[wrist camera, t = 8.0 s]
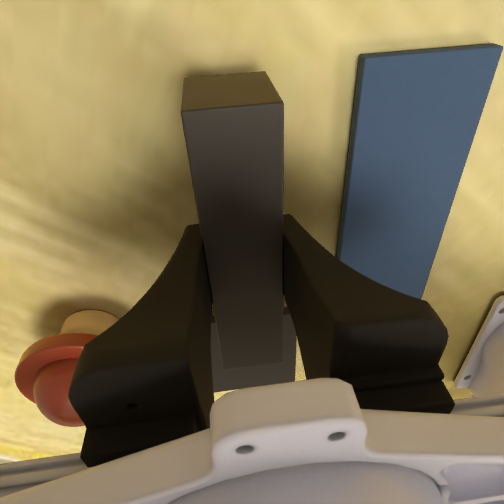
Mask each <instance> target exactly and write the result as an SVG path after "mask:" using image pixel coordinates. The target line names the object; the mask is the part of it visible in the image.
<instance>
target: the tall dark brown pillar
mask: <svg viewBox="0 0 504 504" xmlns="http://www.w3.org/2000/svg"><path fill="white" fill-rule="evenodd" d="M181 117H182V123H183V129H184V135H185V141H186V147H187V153H188V159H189V165H190V171H191V177H192V183H193V189H194V195H195V201H196V207H197V213H198V219H199V225H200V231H201V237H202V243H203V249H204V255H205V261H206V267H207V273H208V279H209V285H210V291H211V297H212V303H213V309H214V315H215V316H212V318H211V361H212V377H213V392H221V391H228V390H236V389H242V388H250V387H257V386H265V385H272V384H280V383H287V382H294V381H295V365H296V337H297V334H296V331H295V327H294V324H293V321H292V318H291V315H290V312H289V309H288V307H284V308H283V197H284V103H283V101H282V99H281V98H280V96H279V94H278V92H277V91H276V89H275V87H274V86H273V84H272V82H271V81H270V79H269V77H268V75H267V74H266V72H264V71H263V72H251V73H239V74H227V75H215V76H204V77H192V78H184V83H183V93H182V104H181Z"/></svg>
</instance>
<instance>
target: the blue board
mask: <svg viewBox="0 0 504 504" xmlns="http://www.w3.org/2000/svg"><path fill="white" fill-rule="evenodd" d="M502 50H503V46H500V45H497V44H481V45H469V46H457V47H445V48H433V49H421V50H409V51H397V52H385V53H373V54H361V55H360V56H359V64H358V73H357V82H356V90H355V99H354V108H353V116H352V125H351V134H350V142H349V151H348V160H347V169H346V177H345V186H344V195H343V203H342V212H341V221H340V230H339V238H338V247H337V256H336V258H337V259H339V260H340V261H342V262H343V263H345V264H346V265H348V266H349V267H351V268H352V269H354V270H356V271H357V272H359V273H361V274H363V275H364V276H366V277H368V278H370V279H372V280H374V281H376V282H378V283H380V284H382V285H384V286H386V287H389V288H391V289H393V290H396V291H398V292H401V293H404V294H406V295H409V296H412V297H415V298H418V299H421V298H422V295H423V292H424V289H425V286H426V283H427V280H428V276H429V273H430V270H431V267H432V264H433V261H434V258H435V255H436V252H437V249H438V246H439V243H440V240H441V237H442V234H443V231H444V227H445V224H446V221H447V218H448V215H449V212H450V209H451V206H452V203H453V200H454V197H455V194H456V191H457V188H458V185H459V181H460V178H461V175H462V172H463V169H464V166H465V163H466V160H467V157H468V154H469V151H470V148H471V145H472V142H473V139H474V136H475V132H476V129H477V126H478V123H479V120H480V117H481V114H482V111H483V108H484V105H485V102H486V99H487V96H488V93H489V90H490V87H491V83H492V80H493V77H494V74H495V71H496V68H497V65H498V62H499V59H500V56H501V53H502Z"/></svg>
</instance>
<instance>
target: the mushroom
mask: <svg viewBox="0 0 504 504" xmlns="http://www.w3.org/2000/svg"><path fill="white" fill-rule="evenodd" d="M118 320H119V319H118V318H117V317H115V316H113V315H111V314H109V313H106V312H103V311H98V310H84V311H79V312H76V313H74V314H72V315H70V316H69V317H68V318H67V319H66V320H65V321H64V323H63V326H62V328H61V331H60V334H58V335H53V336H50V337H46V338H44V339H41V340H39V341H37V342H35V343H34V344H33V345H31V346H30V347H29V348H28V349H27V350H26V351H25V352H24V353H23V355H22V357H21V359H20V361H19V364H18V366H17V368H16V371H15V382H16V385H17V387H18V389H19V390H20V392H21V393H22V394H23V395H24V396H25V397H26V398H28V399H29V400H30V401H32V402H34V403H35V404H36V405H37V407H38V408H39V410H40V411H41V413H42V414H43V415H44V416H45V417H46V418H48V419H49V420H51V421H52V422H54V423H56V424H59V425H62V426H69V427H78V426H84V423H83V422H82V420H81V419H80V417H79V416H78V414H77V413H76V411H75V410H74V408H73V407H72V405H71V403H70V401H69V398H68V393H69V387H70V384H71V381H72V377H73V374H74V370H75V367H76V364H77V362H78V359H79V357H80V355H81V353H82V350H83V348H84V346H85V344H87V343H88V342H90V341H91V340H93V339H94V338H95V337H97V336H98V335H100V334H101V333H102V332H104V331H105V330H107V329H108V328H109V327H111V326H112V325H113V324H114V323H116V322H117V321H118Z"/></svg>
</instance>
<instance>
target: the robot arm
mask: <svg viewBox="0 0 504 504" xmlns="http://www.w3.org/2000/svg"><path fill="white" fill-rule="evenodd" d="M283 294H284V297H285V300H286V303H287V306H288V309H289V312H290V315H291V318H292V321H293V324H294V327H295V331H296V334H297V338H298V342H299V347H300V351H301V356H302V361H303V365H304V370H305V375H306V380H302V381H294V382H287V383H280V384H272V385H265V386H257V387H250V388H242V389H239V390H235V391H232V392H228V393H226V394H224V395H223V396H222V397H220V398H219V399H218V400H216V401H215V402H214V392H213V377H212V361H211V318H212V297H211V291H210V285H209V279H208V273H207V267H206V261H205V255H204V249H203V243H202V237H201V231H200V225H199V224H193V225H188V226H187V227H186V228H185V231H184V233H183V236H182V238H181V240H180V242H179V244H178V246H177V248H176V250H175V252H174V254H173V255H172V257H171V259H170V261H169V262H168V264H167V265H166V267H165V268H164V270H163V271H162V273H161V275H160V276H159V277H158V279H157V280H156V281H155V283H154V284H153V285H152V287H151V288H150V289H149V290H148V291H147V293H146V294H145V295H144V296H143V297H142V298H141V299H140V300H139V301H138V302H137V304H136V305H135V306H134V307H133V308H132V309H131V310H130V311H128V312H127V313H126V314H125V315H124V316H123V317H122V318H120V319H119V320H118V321H117V322H116V323H114V324H113V325H112V326H111V327H109V328H108V329H107V330H105V331H104V332H102V333H101V334H100V335H98V336H97V337H95V338H94V339H93V340H91V341H90V342H88V343H87V344H85V346H84V348H83V350H82V353H81V355H80V357H79V359H78V362H77V364H76V367H75V370H74V374H73V377H72V381H71V384H70V387H69V393H68V398H69V401H70V403H71V405H72V407H73V408H74V410H75V411H76V413H77V414H78V416H79V417H80V419H81V420H82V422H83V423H84V425H85V426H86V428H87V429H86V433H85V437H84V442H83V446H82V450H81V453H75V454H68V455H60V456H53V457H46V458H39V459H32V460H25V461H18V462H11V463H4V464H0V504H504V295H502V296H500V297H498V298H497V299H496V300H495V302H494V304H493V306H492V308H491V310H490V312H489V314H488V316H487V318H486V320H485V322H484V324H483V326H482V328H481V330H480V331H479V333H478V335H477V337H476V339H475V341H474V343H473V345H472V347H471V349H470V351H469V353H468V355H467V357H466V359H465V361H464V363H463V365H462V367H461V369H460V371H459V373H458V375H457V377H456V379H455V381H454V384H455V386H456V388H458V389H464V388H469V389H470V390H471V392H472V393H473V395H474V397H472V398H465V399H457V400H453V399H452V397H451V396H450V394H449V392H448V390H447V389H446V387H445V385H444V383H443V382H442V380H443V379H444V373H443V372H442V370H441V368H440V367H439V365H438V363H439V361H440V358H441V356H442V354H443V351H444V349H445V347H446V345H447V341H448V337H449V336H448V331H447V328H446V327H445V325H444V324H443V322H442V321H441V319H440V318H439V316H438V315H437V313H436V312H435V311H434V310H433V308H432V307H431V306H430V305H429V303H428V302H427V301H424V300H421V299H418V298H415V297H412V296H409V295H406V294H404V293H401V292H398V291H396V290H393V289H391V288H389V287H386V286H384V285H382V284H380V283H378V282H376V281H374V280H372V279H370V278H368V277H366V276H364V275H363V274H361V273H359V272H357V271H356V270H354V269H352V268H351V267H349V266H348V265H346V264H345V263H343V262H342V261H340V260H339V259H337V258H336V257H335V256H333V255H332V254H331V253H330V252H329V251H327V250H326V249H325V248H324V247H323V246H321V245H320V244H319V243H318V242H317V241H316V240H315V239H314V238H313V237H312V236H311V235H310V234H309V233H308V232H307V231H306V230H305V229H304V228H303V227H302V226H301V225H300V224H299V223H298V222H297V221H296V220H295V218H294V217H293V216H292V215H290V214H286V215H283Z"/></svg>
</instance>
